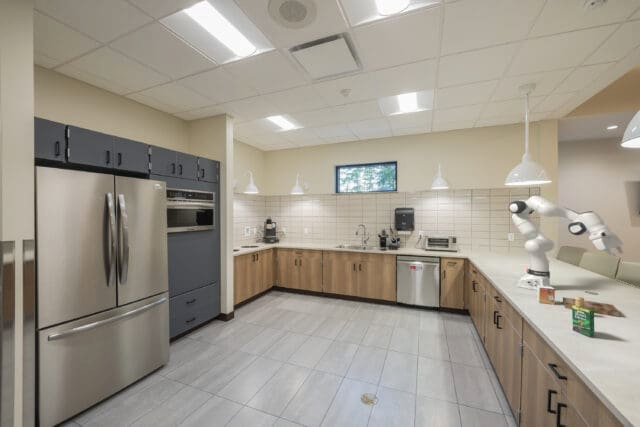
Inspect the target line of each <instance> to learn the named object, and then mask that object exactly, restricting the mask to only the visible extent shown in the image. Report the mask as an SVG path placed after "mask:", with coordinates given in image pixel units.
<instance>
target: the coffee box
mask: <svg viewBox="0 0 640 427" xmlns="http://www.w3.org/2000/svg"><path fill="white" fill-rule="evenodd" d="M571 311H572V312H571V314H572V320H571V321H572V331H574V332H576V333H579V334H581V335H584V336H586V337H588V338H595V313H594V310H591V309H588V308H584V307H581V306H578V305H572V309H571Z"/></svg>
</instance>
